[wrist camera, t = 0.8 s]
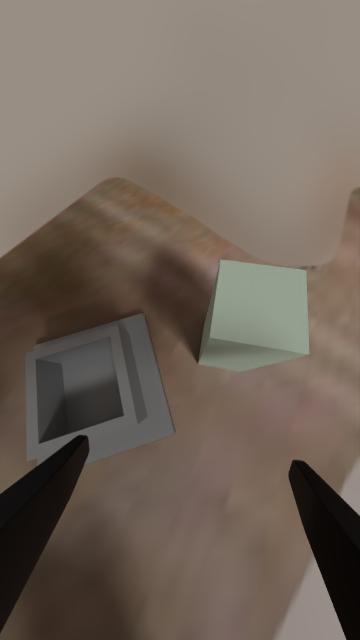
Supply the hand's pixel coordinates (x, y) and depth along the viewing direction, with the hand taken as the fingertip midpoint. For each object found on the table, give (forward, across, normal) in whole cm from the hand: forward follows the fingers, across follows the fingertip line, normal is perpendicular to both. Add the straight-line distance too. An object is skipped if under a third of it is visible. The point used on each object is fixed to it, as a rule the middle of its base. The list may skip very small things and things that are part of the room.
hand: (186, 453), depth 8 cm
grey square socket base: (+12, +10, +6) cm, 17 cm away
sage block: (+15, -4, +1) cm, 15 cm away
